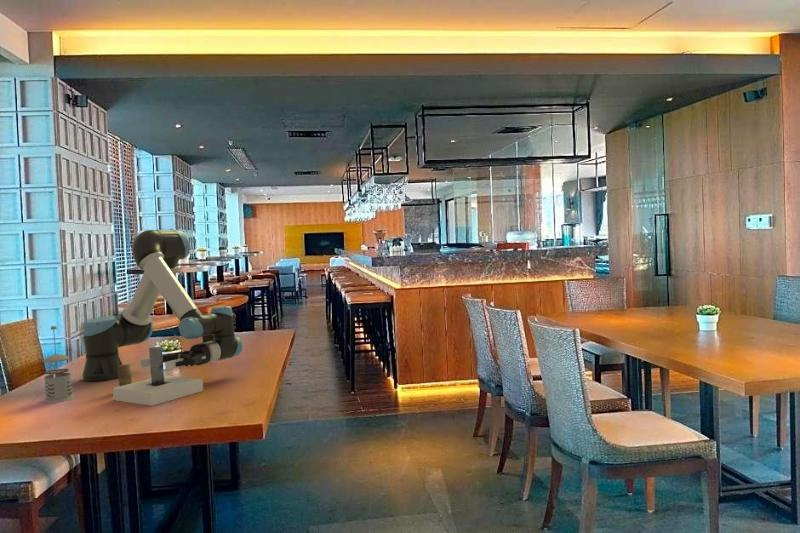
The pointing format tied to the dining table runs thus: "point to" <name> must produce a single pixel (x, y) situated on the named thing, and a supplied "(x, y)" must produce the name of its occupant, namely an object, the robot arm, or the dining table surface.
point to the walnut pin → (124, 374)
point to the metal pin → (156, 366)
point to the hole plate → (157, 390)
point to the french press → (57, 379)
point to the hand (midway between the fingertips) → (152, 365)
